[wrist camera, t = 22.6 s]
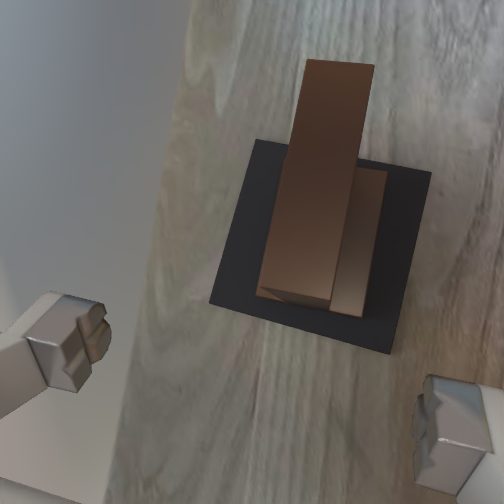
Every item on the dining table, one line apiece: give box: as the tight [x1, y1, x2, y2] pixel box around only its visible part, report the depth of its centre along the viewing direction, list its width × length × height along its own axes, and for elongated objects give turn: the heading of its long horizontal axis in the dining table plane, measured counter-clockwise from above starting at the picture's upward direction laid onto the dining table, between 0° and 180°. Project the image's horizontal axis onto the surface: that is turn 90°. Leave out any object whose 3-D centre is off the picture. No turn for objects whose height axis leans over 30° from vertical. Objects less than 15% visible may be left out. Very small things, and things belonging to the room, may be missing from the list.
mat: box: [209, 139, 432, 355], centre depth 21 cm, size 9×9×1 cm
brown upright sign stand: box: [255, 59, 388, 318], centre depth 16 cm, size 7×5×9 cm
